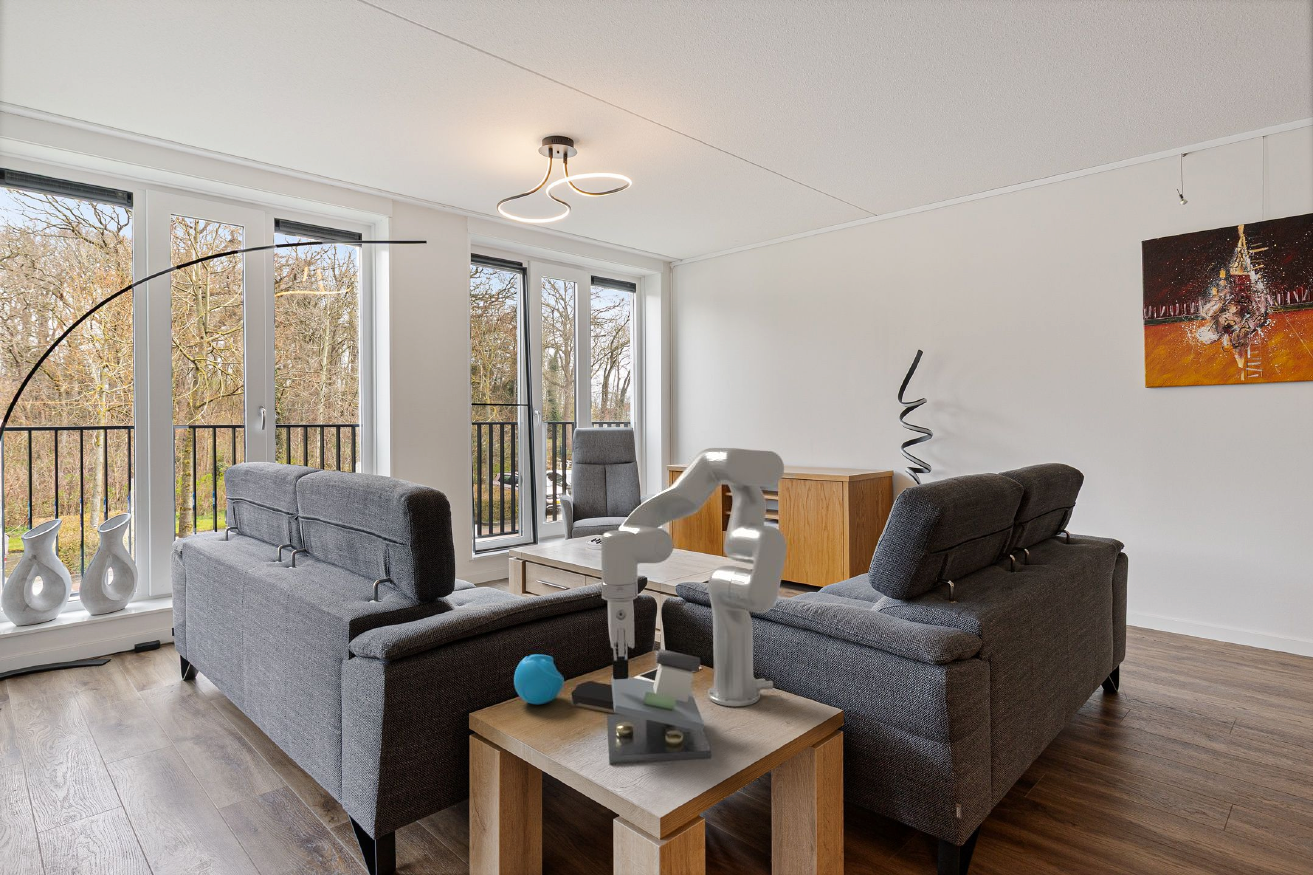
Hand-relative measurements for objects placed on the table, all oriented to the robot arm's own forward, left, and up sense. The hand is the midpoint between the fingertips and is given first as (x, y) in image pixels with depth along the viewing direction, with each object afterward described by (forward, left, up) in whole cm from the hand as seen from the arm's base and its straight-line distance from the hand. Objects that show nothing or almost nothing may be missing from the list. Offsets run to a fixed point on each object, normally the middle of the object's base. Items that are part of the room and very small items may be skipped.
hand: (620, 677), depth 142 cm
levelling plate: (-7, 0, -7) cm, 10 cm away
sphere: (+19, -23, -14) cm, 33 cm away
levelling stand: (-7, 0, -13) cm, 15 cm away
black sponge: (+3, -20, -14) cm, 24 cm away
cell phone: (-14, -38, -14) cm, 43 cm away
